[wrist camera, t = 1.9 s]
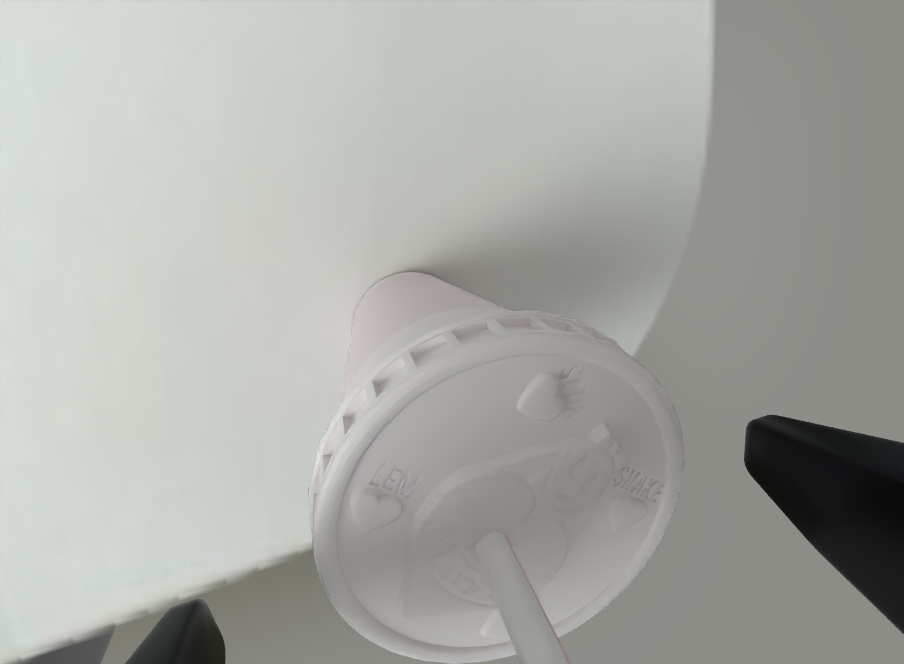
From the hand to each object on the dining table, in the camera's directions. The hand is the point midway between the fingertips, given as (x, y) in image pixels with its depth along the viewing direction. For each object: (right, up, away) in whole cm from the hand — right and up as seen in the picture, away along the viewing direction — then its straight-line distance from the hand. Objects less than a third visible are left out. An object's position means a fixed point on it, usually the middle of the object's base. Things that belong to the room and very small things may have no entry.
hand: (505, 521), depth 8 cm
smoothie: (-2, +3, +9) cm, 10 cm away
